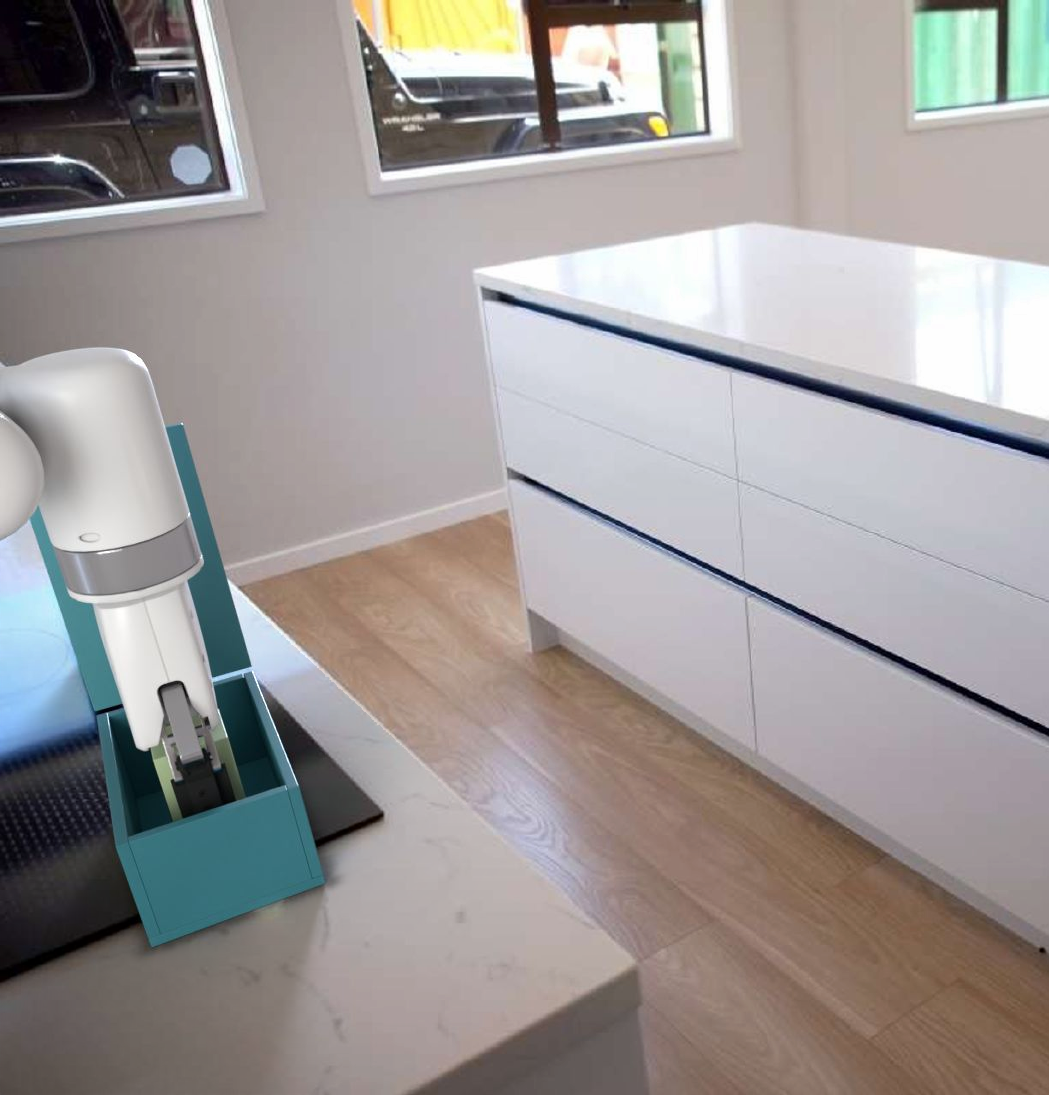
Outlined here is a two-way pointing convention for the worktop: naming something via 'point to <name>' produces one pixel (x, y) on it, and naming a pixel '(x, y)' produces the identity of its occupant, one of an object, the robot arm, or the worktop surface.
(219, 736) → the carton
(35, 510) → the robot arm
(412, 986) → the worktop surface
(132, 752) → the box
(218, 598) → the lunchbox lid
